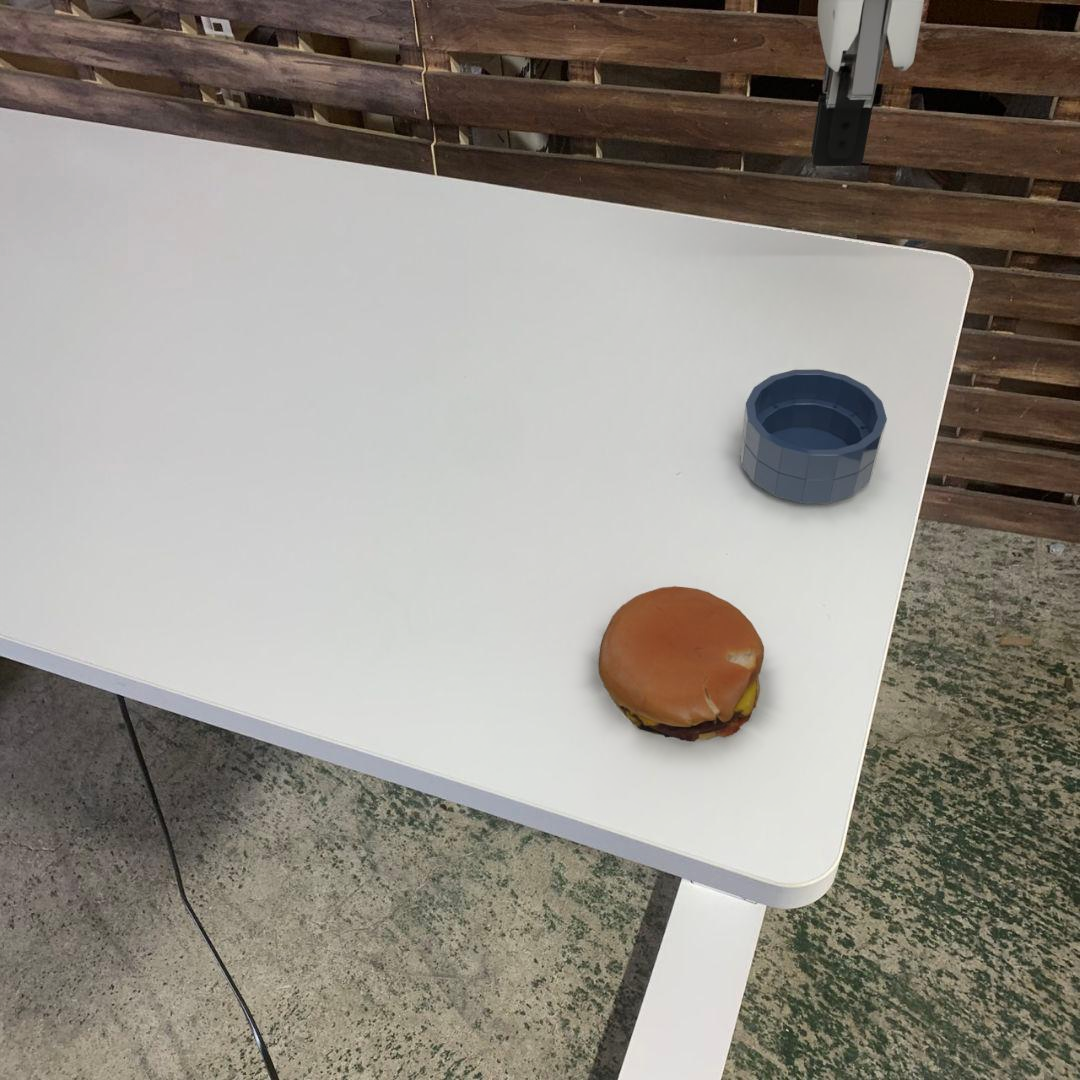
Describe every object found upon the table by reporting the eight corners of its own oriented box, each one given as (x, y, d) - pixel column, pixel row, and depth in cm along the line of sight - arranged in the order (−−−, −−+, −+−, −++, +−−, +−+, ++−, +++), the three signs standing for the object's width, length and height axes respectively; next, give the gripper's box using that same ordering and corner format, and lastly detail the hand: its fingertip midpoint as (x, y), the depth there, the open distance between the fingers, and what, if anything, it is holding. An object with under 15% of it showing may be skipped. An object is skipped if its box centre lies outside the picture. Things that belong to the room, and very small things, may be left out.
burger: (602, 615, 61) (602, 566, 58) (753, 620, 60) (761, 570, 57) (595, 753, 55) (594, 706, 51) (764, 761, 54) (774, 714, 50)
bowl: (860, 423, 72) (873, 368, 69) (882, 510, 66) (897, 455, 62) (735, 423, 73) (741, 369, 70) (745, 509, 67) (752, 455, 63)
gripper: (993, -142, 46) (909, 216, 60) (941, -206, 56) (880, 112, 70) (831, -135, 47) (784, 216, 60) (809, -200, 57) (773, 113, 71)
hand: (835, 159), depth 65 cm, fingers closed
